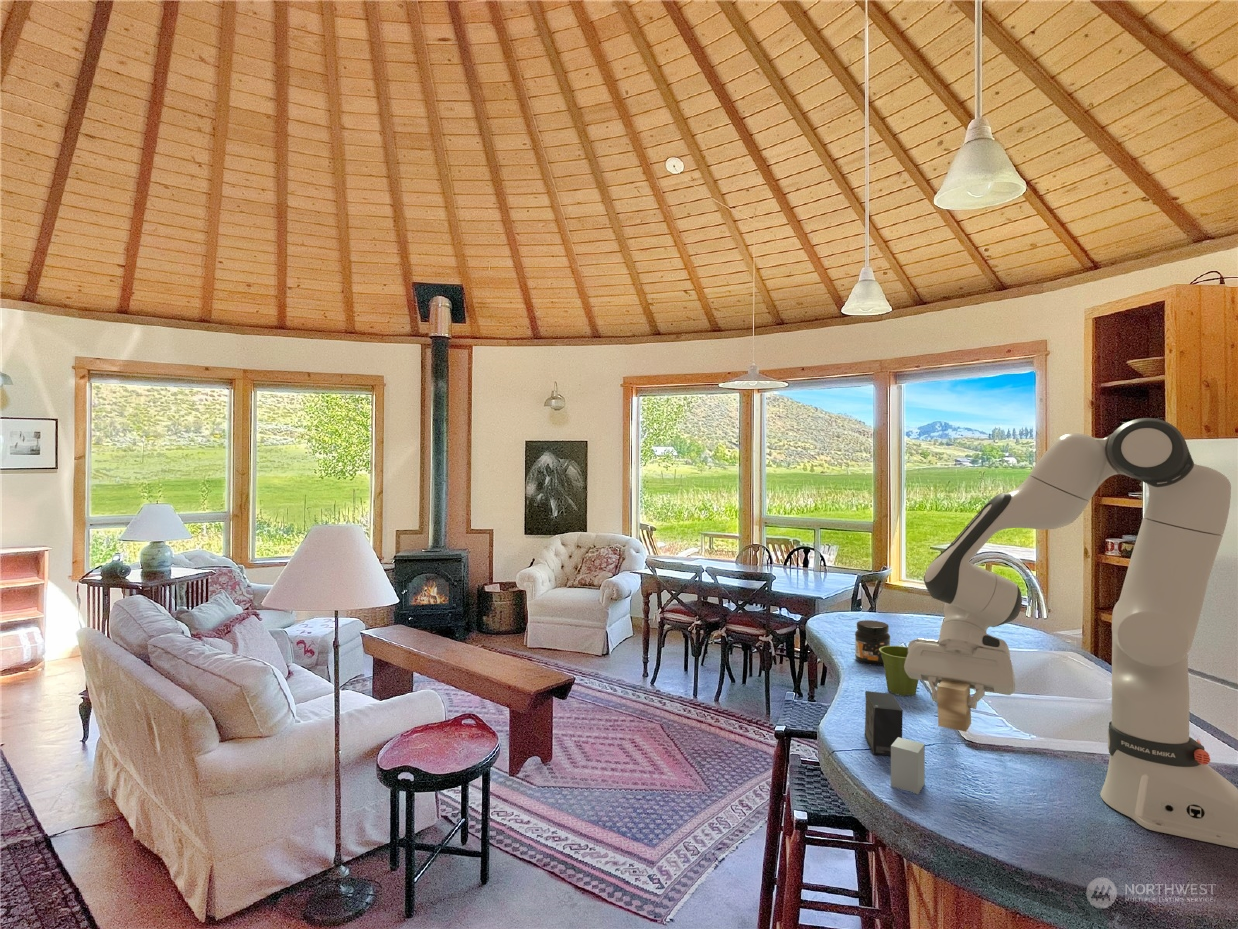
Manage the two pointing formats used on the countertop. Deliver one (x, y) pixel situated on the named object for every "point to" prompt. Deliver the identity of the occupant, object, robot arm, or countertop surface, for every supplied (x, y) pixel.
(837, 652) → the countertop surface
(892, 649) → the plant pot
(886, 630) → the supplement container
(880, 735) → the small box
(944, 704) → the maple block
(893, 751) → the grey box
